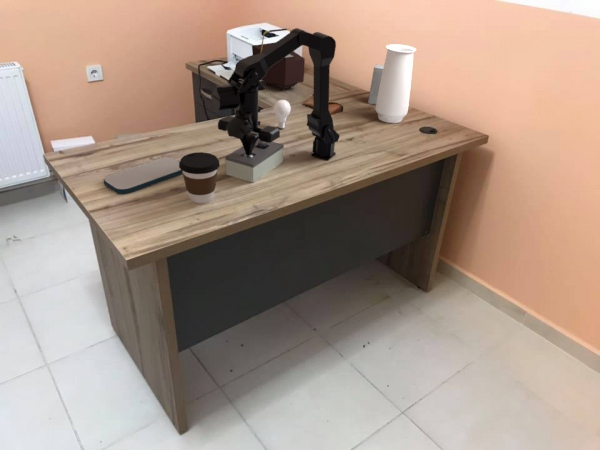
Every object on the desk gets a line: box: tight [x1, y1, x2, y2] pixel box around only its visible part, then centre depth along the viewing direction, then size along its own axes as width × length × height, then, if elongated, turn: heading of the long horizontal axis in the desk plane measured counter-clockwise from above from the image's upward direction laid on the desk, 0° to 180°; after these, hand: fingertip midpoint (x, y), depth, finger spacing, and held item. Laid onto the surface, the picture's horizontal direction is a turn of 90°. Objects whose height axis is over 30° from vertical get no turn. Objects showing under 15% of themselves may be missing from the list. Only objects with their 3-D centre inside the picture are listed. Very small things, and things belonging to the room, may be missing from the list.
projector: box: [251, 28, 306, 91], centre depth 225 cm, size 16×23×25 cm
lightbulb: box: [273, 99, 292, 130], centre depth 185 cm, size 6×6×11 cm
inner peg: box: [258, 139, 267, 149], centre depth 157 cm, size 3×3×6 cm
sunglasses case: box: [301, 93, 344, 116], centre depth 209 cm, size 18×7×7 cm
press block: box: [225, 140, 285, 183], centre depth 157 cm, size 10×18×6 cm, turn 152°
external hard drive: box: [103, 156, 183, 195], centre depth 149 cm, size 24×12×2 cm, turn 137°
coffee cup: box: [179, 151, 220, 205], centre depth 137 cm, size 11×11×12 cm
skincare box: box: [367, 64, 384, 106], centre depth 214 cm, size 8×7×16 cm
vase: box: [374, 44, 417, 124], centre depth 195 cm, size 13×13×28 cm
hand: (248, 155), depth 152 cm, fingers closed, pressing on outer peg
